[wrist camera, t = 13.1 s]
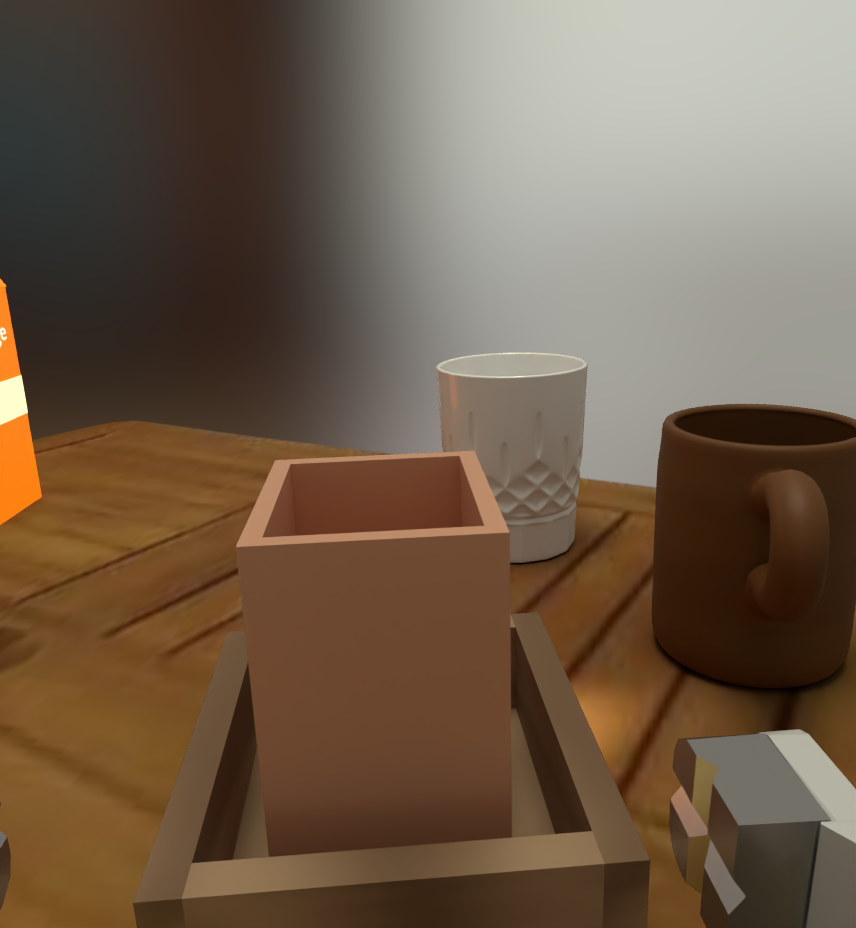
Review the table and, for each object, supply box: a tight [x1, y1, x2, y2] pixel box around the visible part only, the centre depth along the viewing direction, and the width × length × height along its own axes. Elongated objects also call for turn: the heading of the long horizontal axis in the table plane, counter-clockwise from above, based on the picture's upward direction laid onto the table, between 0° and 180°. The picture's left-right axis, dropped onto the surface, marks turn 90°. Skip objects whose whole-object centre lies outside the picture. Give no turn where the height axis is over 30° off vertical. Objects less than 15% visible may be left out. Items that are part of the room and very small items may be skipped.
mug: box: [652, 404, 856, 688], centre depth 30 cm, size 12×8×9 cm, turn 167°
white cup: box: [436, 353, 588, 563], centre depth 44 cm, size 8×8×10 cm
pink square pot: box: [236, 451, 512, 857], centre depth 23 cm, size 6×7×10 cm
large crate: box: [133, 613, 650, 928], centre depth 24 cm, size 11×12×4 cm
